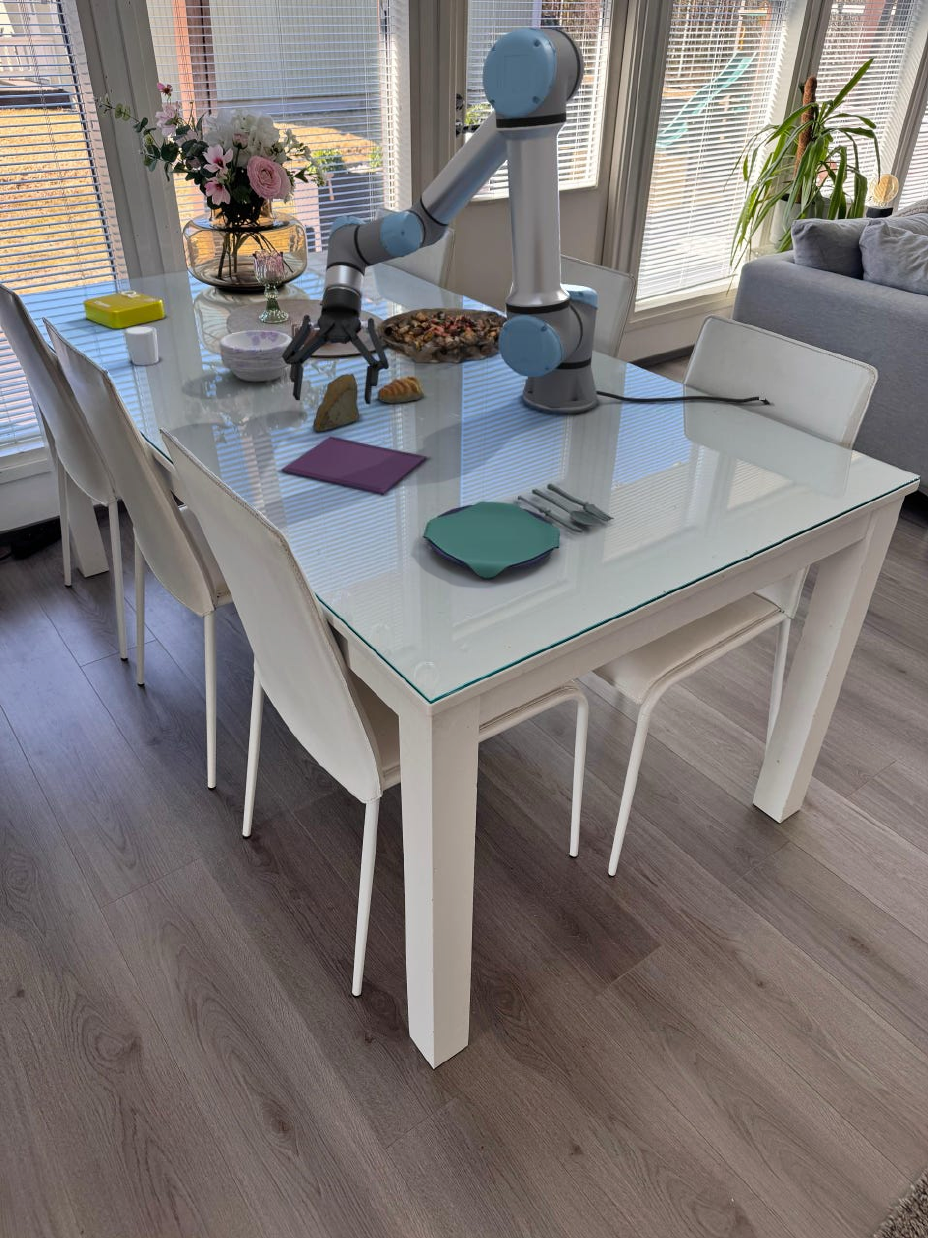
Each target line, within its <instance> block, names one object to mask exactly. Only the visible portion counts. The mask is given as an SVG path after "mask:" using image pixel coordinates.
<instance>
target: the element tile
mask: <svg viewBox="0 0 928 1238" xmlns="http://www.w3.org/2000/svg"><path fill="white" fill-rule="evenodd" d="M82 304H83V307H84V312H85V317H86V319H87V320H88V321H92V322H94V323H97V324H99V325H102V326H105V327H108V328H111V329H115V330H119V329H127V328H130V327H135V326H139V325H141V324H142V325H143V324H146V323H151V322H155V321H159V320H162V319H164V318H165V316H166V315H165V309H164V304H163V300H162V299H160V298H157V297H153V296H150V295H147V294H144V293H141V292H140V291H139V292H138V291H135V290H125V291H122V292H117V293H112V294H107V295H102V296H98V297H93V298H88V299H85V300H83V302H82Z"/></svg>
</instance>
